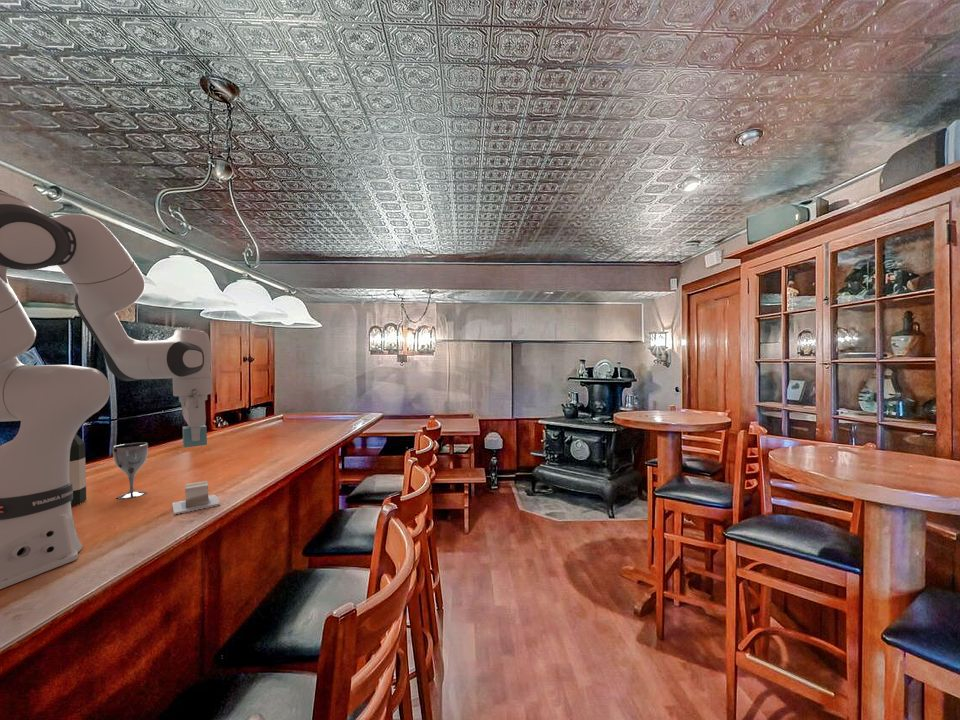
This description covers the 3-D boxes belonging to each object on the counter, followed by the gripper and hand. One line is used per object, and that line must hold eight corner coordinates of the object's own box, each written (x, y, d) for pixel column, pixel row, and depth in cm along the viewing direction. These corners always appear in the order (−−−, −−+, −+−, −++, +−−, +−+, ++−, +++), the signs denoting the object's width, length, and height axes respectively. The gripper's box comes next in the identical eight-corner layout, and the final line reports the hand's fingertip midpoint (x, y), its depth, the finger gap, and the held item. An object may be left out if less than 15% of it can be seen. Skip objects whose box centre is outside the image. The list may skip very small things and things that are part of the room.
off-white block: (208, 503, 109) (207, 485, 109) (185, 507, 106) (185, 488, 106) (208, 498, 113) (207, 480, 113) (186, 502, 110) (186, 484, 110)
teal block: (206, 444, 109) (206, 426, 109) (184, 447, 106) (183, 428, 106) (205, 441, 113) (204, 424, 113) (183, 444, 110) (182, 426, 110)
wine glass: (156, 491, 123) (154, 442, 123) (130, 500, 115) (128, 448, 115) (133, 490, 124) (132, 442, 124) (106, 499, 116) (105, 447, 116)
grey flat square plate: (220, 505, 109) (220, 503, 109) (173, 515, 102) (173, 512, 102) (215, 496, 116) (215, 494, 116) (172, 504, 110) (172, 502, 110)
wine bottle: (64, 509, 108) (61, 399, 108) (34, 510, 109) (31, 400, 109) (94, 499, 117) (92, 396, 117) (66, 499, 117) (64, 397, 117)
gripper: (211, 389, 103) (213, 443, 104) (203, 386, 119) (204, 432, 119) (181, 391, 99) (182, 446, 100) (176, 387, 115) (178, 435, 115)
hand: (194, 438), depth 110 cm, fingers closed on teal block, 5 cm apart
